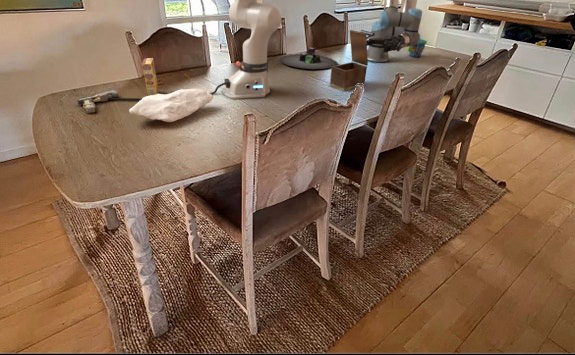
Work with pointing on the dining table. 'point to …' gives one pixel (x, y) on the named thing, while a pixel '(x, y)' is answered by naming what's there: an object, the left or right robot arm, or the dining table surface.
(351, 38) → the lid
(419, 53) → the snack cup
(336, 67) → the chest
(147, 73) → the candy box
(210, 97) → the crumpled cloth
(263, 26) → the left robot arm
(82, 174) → the dining table surface
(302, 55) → the round grey tray
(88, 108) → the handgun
